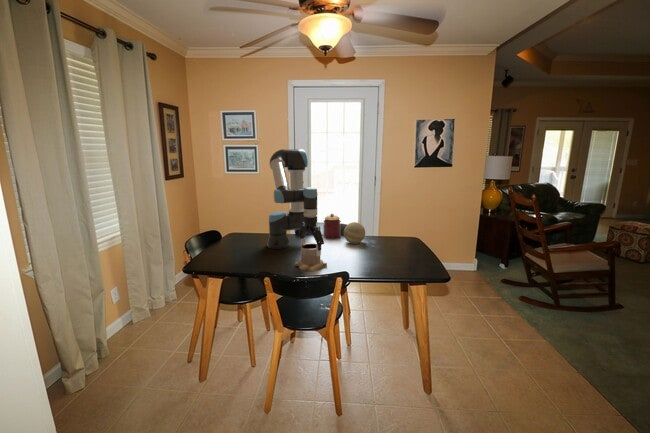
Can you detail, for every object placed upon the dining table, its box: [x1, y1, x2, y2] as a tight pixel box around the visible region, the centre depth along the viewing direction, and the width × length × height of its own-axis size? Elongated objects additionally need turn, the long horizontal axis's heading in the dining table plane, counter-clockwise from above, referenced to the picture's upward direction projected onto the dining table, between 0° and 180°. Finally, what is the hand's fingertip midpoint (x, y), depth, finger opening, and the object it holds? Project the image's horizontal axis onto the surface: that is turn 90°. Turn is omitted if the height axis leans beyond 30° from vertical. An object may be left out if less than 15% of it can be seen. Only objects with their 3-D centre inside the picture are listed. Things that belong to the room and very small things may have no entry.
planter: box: [300, 242, 321, 265], centre depth 173 cm, size 11×11×10 cm
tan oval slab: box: [294, 258, 328, 272], centre depth 174 cm, size 18×14×2 cm
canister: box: [323, 213, 342, 239], centre depth 231 cm, size 13×13×18 cm
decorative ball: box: [343, 221, 366, 245], centre depth 215 cm, size 15×15×15 cm
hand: (310, 252), depth 173 cm, fingers open, 13 cm apart
